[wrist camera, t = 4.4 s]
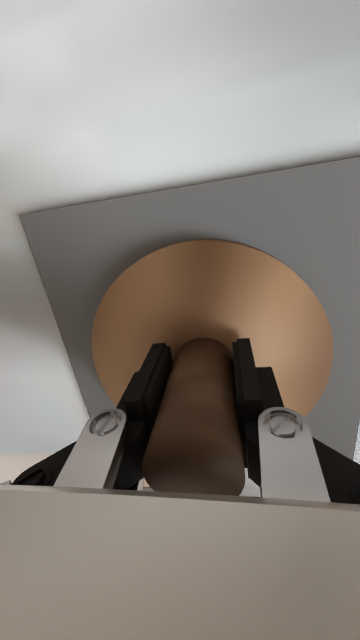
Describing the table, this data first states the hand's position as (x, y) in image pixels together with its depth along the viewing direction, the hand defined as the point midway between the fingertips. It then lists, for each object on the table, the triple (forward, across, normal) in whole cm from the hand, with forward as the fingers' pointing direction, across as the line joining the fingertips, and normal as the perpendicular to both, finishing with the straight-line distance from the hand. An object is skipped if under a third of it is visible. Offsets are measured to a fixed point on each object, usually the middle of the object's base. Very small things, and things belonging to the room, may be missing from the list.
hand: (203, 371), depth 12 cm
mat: (+2, 0, 0) cm, 2 cm away
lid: (+1, 0, 0) cm, 1 cm away
